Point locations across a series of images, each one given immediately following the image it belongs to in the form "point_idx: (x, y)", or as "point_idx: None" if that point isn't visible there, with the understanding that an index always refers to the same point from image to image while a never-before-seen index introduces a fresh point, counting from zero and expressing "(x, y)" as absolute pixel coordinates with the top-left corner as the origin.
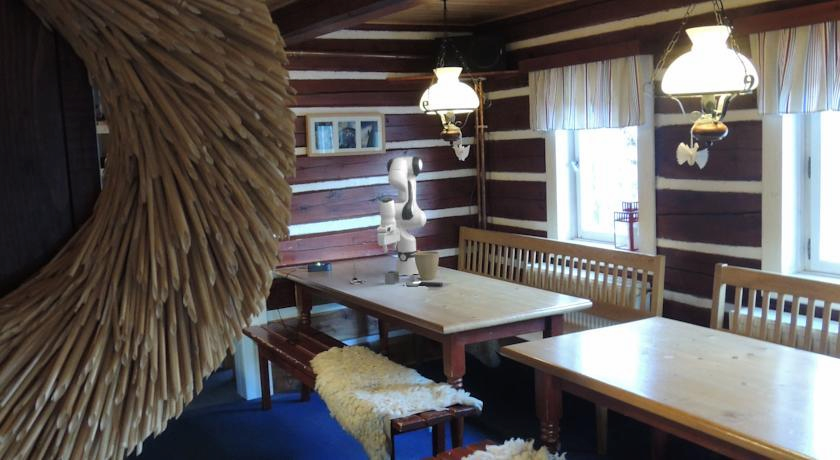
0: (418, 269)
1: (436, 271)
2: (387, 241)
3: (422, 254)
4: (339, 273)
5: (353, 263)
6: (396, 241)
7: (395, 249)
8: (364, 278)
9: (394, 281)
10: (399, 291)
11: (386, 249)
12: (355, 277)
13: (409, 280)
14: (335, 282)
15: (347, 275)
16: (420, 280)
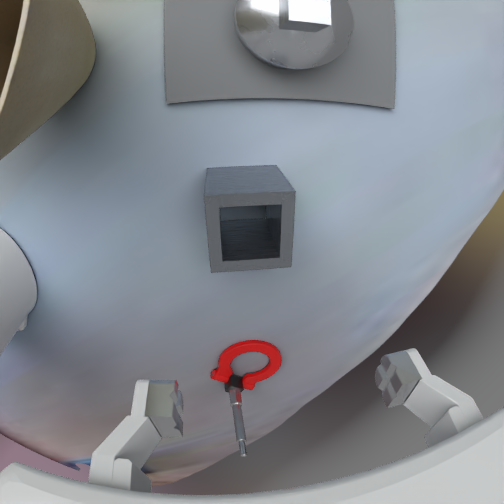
0: (73, 83)
1: (16, 16)
2: (500, 461)
3: None
4: None
5: (244, 445)
6: (127, 500)
7: (153, 384)
8: None
9: (275, 171)
10: (423, 66)
11: (438, 378)
12: (236, 389)
13: (280, 52)
14: (256, 411)
15: None
16: None
